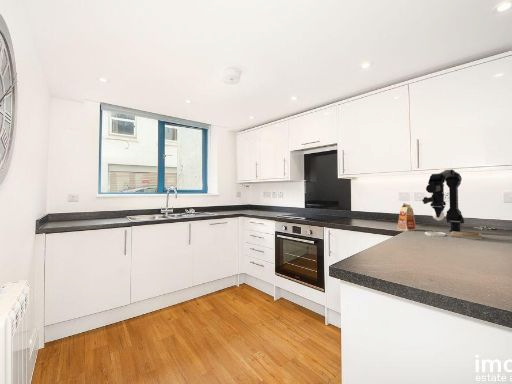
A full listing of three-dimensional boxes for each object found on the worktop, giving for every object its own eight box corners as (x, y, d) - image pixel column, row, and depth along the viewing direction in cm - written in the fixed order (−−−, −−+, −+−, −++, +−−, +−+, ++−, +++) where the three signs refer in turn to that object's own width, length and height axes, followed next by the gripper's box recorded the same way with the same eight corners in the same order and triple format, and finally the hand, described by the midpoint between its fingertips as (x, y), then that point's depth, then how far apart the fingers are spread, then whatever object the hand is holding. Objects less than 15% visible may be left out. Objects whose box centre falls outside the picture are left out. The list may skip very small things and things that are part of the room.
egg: (435, 219, 161) (435, 208, 161) (446, 220, 155) (446, 208, 155) (430, 220, 158) (430, 208, 158) (441, 221, 152) (441, 209, 152)
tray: (452, 234, 159) (451, 231, 159) (481, 236, 150) (481, 233, 150) (450, 236, 150) (450, 233, 150) (481, 239, 141) (481, 235, 141)
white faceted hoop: (426, 233, 164) (426, 231, 165) (446, 234, 157) (446, 232, 157) (424, 235, 157) (424, 232, 157) (444, 236, 150) (444, 234, 150)
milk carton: (407, 230, 177) (406, 203, 177) (396, 229, 186) (396, 202, 186) (416, 230, 179) (416, 203, 180) (406, 228, 188) (405, 202, 188)
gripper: (425, 193, 169) (425, 215, 169) (420, 193, 155) (421, 217, 155) (445, 192, 161) (446, 216, 161) (442, 192, 148) (443, 218, 147)
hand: (438, 217), depth 156 cm, fingers closed on egg, 6 cm apart
